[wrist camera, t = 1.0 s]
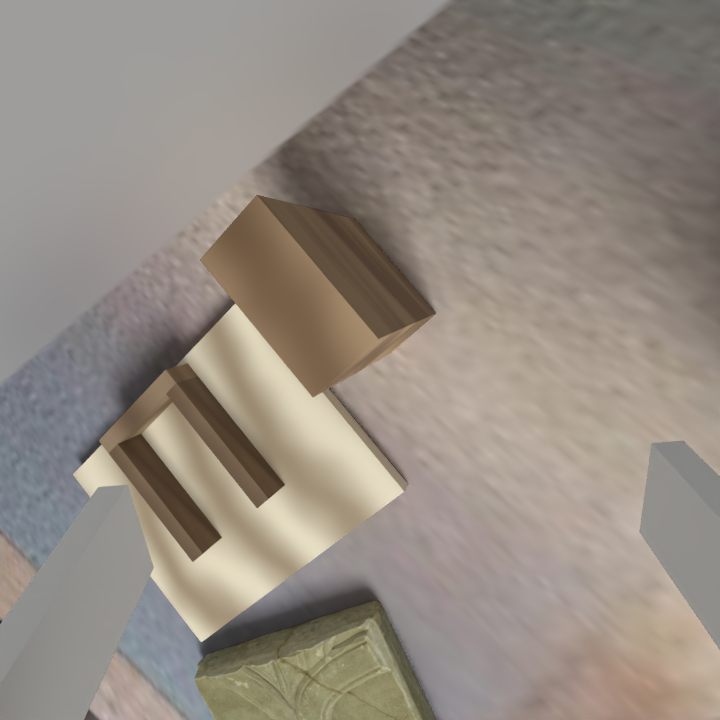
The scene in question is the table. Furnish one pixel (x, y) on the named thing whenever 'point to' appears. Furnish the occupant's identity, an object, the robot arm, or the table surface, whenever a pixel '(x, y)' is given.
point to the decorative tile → (316, 673)
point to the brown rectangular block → (315, 289)
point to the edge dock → (238, 473)
